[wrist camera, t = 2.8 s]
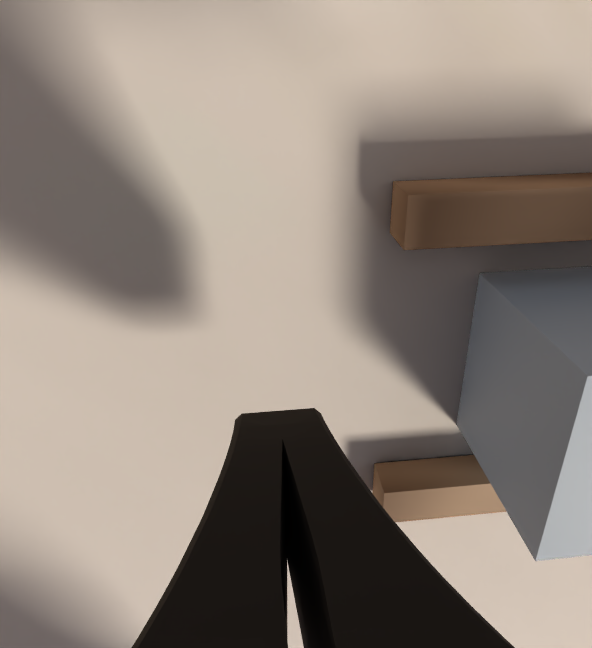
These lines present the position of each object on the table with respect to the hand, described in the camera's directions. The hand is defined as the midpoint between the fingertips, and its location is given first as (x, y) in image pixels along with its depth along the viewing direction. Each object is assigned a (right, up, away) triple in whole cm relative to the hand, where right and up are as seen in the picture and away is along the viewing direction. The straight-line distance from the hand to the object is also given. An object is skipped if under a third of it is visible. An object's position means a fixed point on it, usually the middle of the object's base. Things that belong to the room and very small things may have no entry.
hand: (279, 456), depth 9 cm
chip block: (+6, +2, +3) cm, 7 cm away
